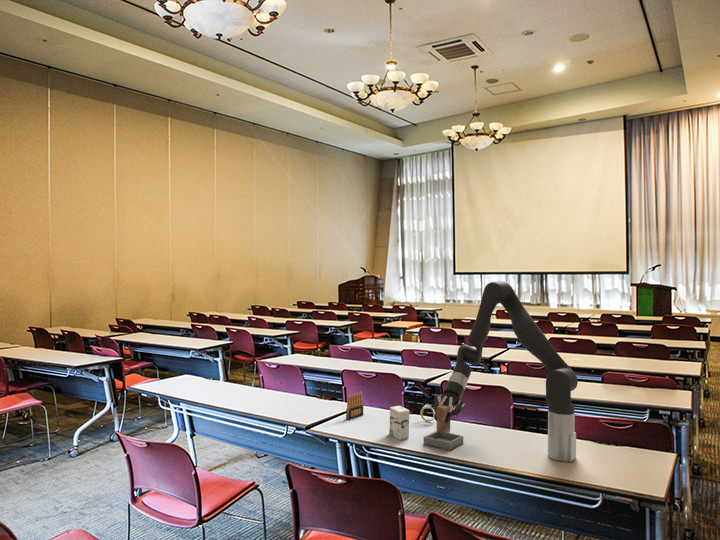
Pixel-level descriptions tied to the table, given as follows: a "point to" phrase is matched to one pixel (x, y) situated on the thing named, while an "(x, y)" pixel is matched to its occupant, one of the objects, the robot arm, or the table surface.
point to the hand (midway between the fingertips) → (441, 420)
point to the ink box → (399, 422)
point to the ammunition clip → (354, 406)
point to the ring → (425, 408)
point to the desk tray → (443, 440)
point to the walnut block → (442, 419)
